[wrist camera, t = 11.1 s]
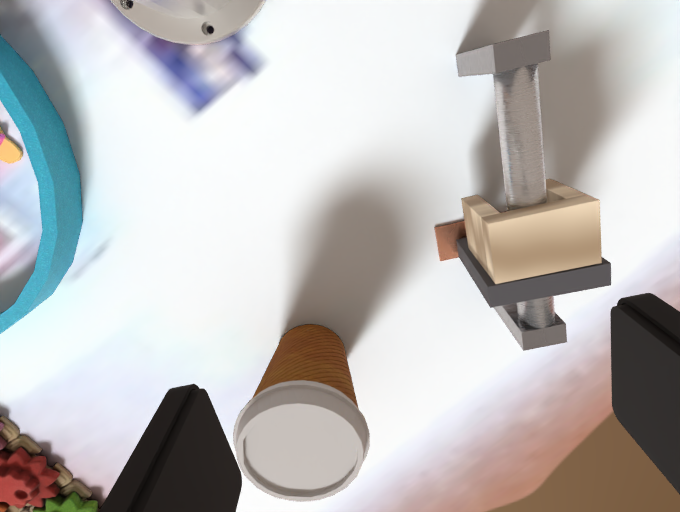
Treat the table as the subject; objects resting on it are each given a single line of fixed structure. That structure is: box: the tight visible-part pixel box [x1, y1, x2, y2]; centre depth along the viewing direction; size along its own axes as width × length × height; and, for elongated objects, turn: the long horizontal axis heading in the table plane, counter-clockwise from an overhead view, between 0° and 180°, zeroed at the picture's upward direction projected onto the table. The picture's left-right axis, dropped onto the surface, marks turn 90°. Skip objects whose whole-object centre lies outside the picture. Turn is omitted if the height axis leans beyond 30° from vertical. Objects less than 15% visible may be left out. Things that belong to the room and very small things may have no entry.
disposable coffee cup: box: [233, 324, 369, 501], centre depth 35 cm, size 10×10×12 cm
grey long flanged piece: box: [434, 30, 567, 351], centre depth 31 cm, size 20×10×8 cm, turn 13°
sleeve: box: [461, 179, 602, 284], centre depth 29 cm, size 4×6×7 cm, turn 104°
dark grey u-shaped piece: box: [456, 237, 611, 308], centre depth 31 cm, size 2×7×9 cm, turn 104°
